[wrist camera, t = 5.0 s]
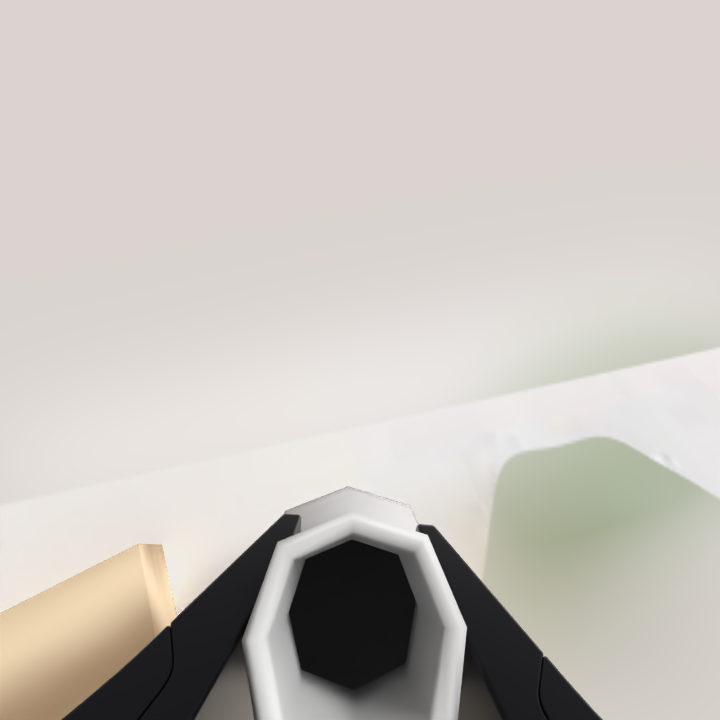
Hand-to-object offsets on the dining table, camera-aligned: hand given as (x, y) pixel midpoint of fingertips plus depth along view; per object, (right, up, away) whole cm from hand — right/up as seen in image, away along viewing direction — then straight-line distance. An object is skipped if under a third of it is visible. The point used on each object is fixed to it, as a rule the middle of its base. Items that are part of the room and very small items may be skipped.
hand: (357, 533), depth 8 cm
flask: (0, -5, +5) cm, 7 cm away
